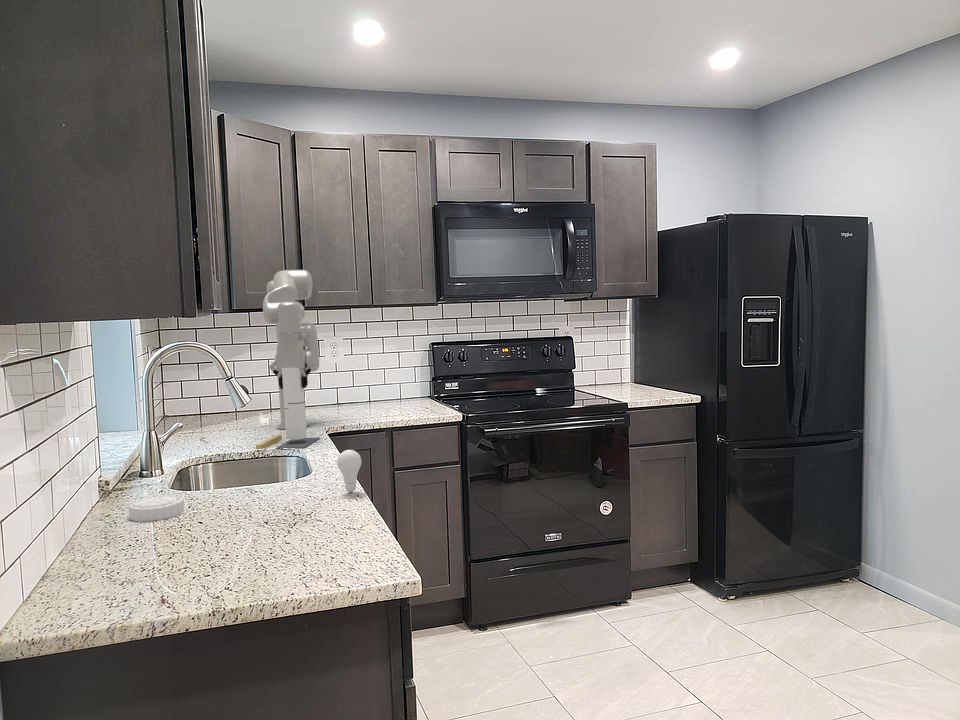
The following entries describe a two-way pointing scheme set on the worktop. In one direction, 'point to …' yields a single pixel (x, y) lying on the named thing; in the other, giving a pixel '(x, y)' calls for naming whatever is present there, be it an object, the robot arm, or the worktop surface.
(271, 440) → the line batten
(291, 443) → the mat
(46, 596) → the worktop surface
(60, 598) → the worktop surface
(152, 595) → the worktop surface
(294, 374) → the grey tall block
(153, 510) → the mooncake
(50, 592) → the worktop surface
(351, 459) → the lightbulb
